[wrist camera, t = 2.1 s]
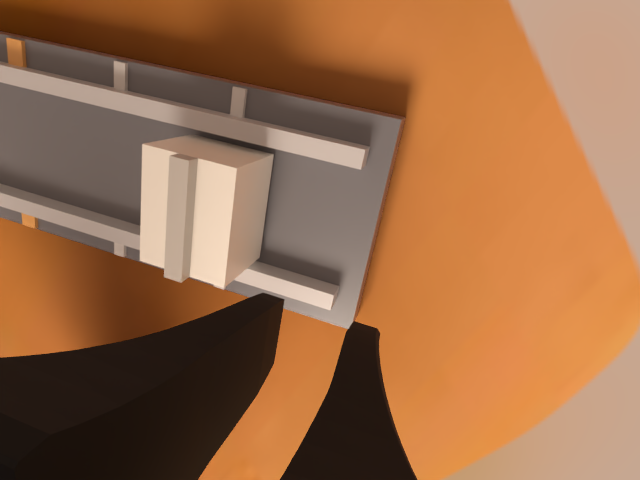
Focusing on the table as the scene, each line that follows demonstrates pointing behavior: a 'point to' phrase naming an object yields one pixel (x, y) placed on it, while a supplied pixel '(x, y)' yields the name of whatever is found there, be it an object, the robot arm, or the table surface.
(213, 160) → the fader tab
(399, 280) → the table surface
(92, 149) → the gray slider track
